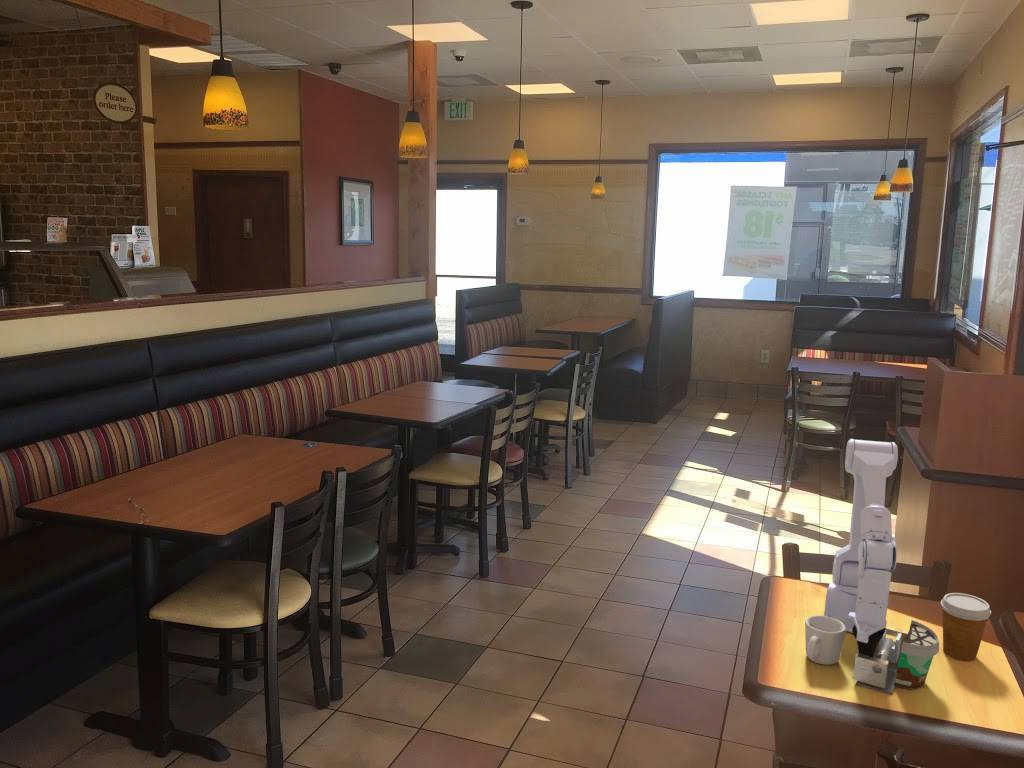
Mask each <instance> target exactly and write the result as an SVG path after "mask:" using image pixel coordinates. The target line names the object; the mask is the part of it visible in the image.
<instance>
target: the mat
mask: <svg viewBox="0 0 1024 768" xmlns="http://www.w3.org/2000/svg"><path fill="white" fill-rule="evenodd" d="M877 656H878V650H875V653H874V656H873V657H874V658H877ZM899 659H900V656H899V658H898V660H897V663H892V662H889V663H888V671H887V680H886V686H885V688H881V687H878V686H874V685H871V684H867V683H864V682H861V681H857V680H856V682H855V685H858V686H861V687H865V688H868V689H871V690H874V691H878V692H880V693H884V694H887V695H891V696H892V695H893V693H894V690H895V688H896V686H894V682H895V678H896V673H897V668H898V664H899Z"/></svg>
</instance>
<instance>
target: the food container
mask: <svg viewBox="0 0 1024 768" xmlns="http://www.w3.org/2000/svg"><path fill="white" fill-rule="evenodd" d="M910 621H911V622H910V626H909V630H908V635H907V637H906V640H905V642H903V645H902V649H901V655H900V659H899V664H898V668H897V673H896V678H895V682H894V686H895V687H898V688H902V689H907V690H918V689H922V688H923V687H924V685H925V682H926V680H927V676H928V674H929V671H930V667H931V665H932V662H933V659H934V656H936V655H937V654H939V652H940V641H939V636H938V635H937V633H936V632H935V631H934V630H932V629H931V628H930V627H928V626H927V625H925V624H923V623H921V622H918V621H916V620H913V619H911V620H910Z"/></svg>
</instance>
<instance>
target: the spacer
mask: <svg viewBox="0 0 1024 768" xmlns="http://www.w3.org/2000/svg"><path fill="white" fill-rule="evenodd" d="M885 628H886V636H887V635H888V636H892V637H895V638H897V636H898V633H901V634H902V637H901V645H900V653H899V656H900V655H901V649H902V645H903V642H905V640H906V637H907V635H908V632H909V630H903V629H900V628H897V627H893V626H890V625H889V626H888V625H886V627H885ZM879 643H880V641H879V642H878V644H877V647H876V650H878V651H879Z"/></svg>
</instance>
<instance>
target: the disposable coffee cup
mask: <svg viewBox="0 0 1024 768" xmlns="http://www.w3.org/2000/svg"><path fill="white" fill-rule="evenodd" d="M940 606H941V608H942V651H943V653H944V654H945V655H946V656H948V657H949V658H952V659H955V660H958V661H962V662H971V661H975V660H976V659H977V656H978V653H979V649H980V646H981V642H982V640H983V637H984V633H985V629H986V626H987V622H988V620H989V617H990V616H991V615H992V610H991V608H990V604H989V603H988V602H987V601H986V600H984V599H982V598H980V597H978V596H975V595H971V594H967V593H961V592H950V593H947V594H945V595H944V596H943V598H942V599H941V600H940Z"/></svg>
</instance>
